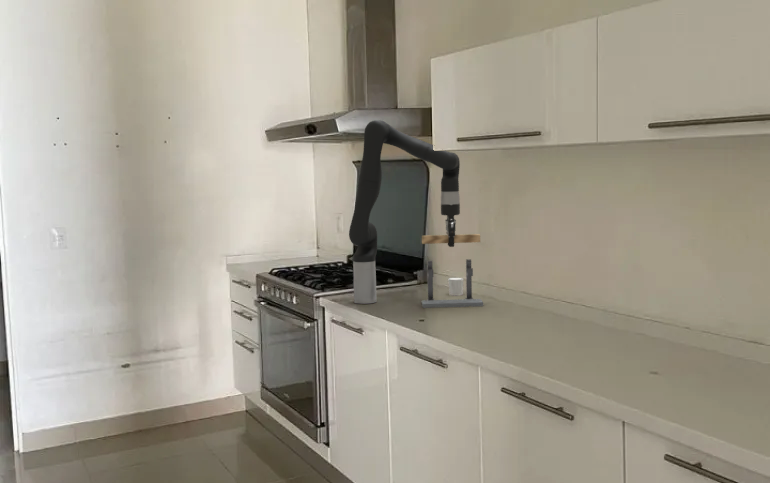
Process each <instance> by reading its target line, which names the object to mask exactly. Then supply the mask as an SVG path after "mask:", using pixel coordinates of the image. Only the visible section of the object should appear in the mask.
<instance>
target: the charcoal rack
mask: <svg viewBox="0 0 770 483" xmlns="http://www.w3.org/2000/svg"><path fill="white" fill-rule="evenodd" d="M426 263H427V267H426V268H427V269H426V270H427V298H426V300H435V298H434V285H433V284H434V283H433V282H434V280H433V278H434V269H433V260H426ZM473 271H474V269H473V268H472V258H471V259H469V258H468V259H465V273H466V274H465V279H466V280H465V282H466V283H465V284H466V286H465V288H466V292H465V293H466V297H464V299H474V298H473V295H472V294H473V292H472V291H473V287H472V286H473V284H472V280H473V279H472V277H473V276H474V272H473Z"/></svg>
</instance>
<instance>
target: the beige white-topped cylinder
mask: <svg viewBox="0 0 770 483" xmlns="http://www.w3.org/2000/svg"><path fill="white" fill-rule="evenodd" d="M464 280H465V279H464V278H463V277H449V278H448V279H447V282H448V294H449V296H455V297H458V296H463V292H464Z"/></svg>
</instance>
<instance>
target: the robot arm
mask: <svg viewBox="0 0 770 483" xmlns="http://www.w3.org/2000/svg"><path fill="white" fill-rule="evenodd" d="M384 144H385V145H388V146H394V147H396V148H399V149H401V150H402V151H404V152H406V153H407V154H409V155H411V156H413V157H415V158H418V159H420V160H422V161H425V162H428V163H430V164H432V165H434V166H436V167H438V168H441V169H442V178H441V179H440V180H441V181H440V214H441V216H446V219H445V220H444V223H445V231H446V232H445V233H446V235H448V237H449V238H448V242H449V243H447V246H448V247H449V248H453V247H455V243H454V237H455V235H456V227H457V226H456V224H457V220H456V219H455V216H460V214H461V205H460V203H461V202H460V200H461V198H460V184H459V178H460V169H461V168H460V167H461V166H460V165H461V164H460V157H459V155H458V154H456V153H455V152H452V151H451V152H450V151H447V150H445V151H434V150H433V145H434V144H432V143H430V142H428V141H424V140H421V139H419V138H416V137H414V136H411V135H409V134H406V133H404V132H402V131H400V130H398V129H397V128H395V127H393V126H392V125H390V124H388V123H387V122H385V121H383V120H381V119H380V120H379V119H378V120H372V121H369V122H368V123H367V124H366V125H365V128H364V132H363V153H362V159H361V164H360V168H359V169H360V171H359V176H358V182H357V183H358V184H357V188H356V189H357V191H356V197H355V204H354V210H353V214H352V218H351V222H350V226H349V231H348V236H349V240H350V242H351V244H352V245H354V246H356V247H357V249H356V250H355V252H354V253H353V256H352V266H353V270H352V271H353V303H354V304H362V305H364V304H365V305H366V304H373V303H377V275H376V274H377V273H376V271H377V268H376V257H377V256H376V255H377V254H378V253H377V252H378V231H377V228H376V226H375V225H374V224H373V223H372V222H370V216H371V212H372V210H373V207H374V206H375V204H376V202H377V200H378V198H379V195H380V192H381V185H382V179H383V177H382V175H383V172H382V163H381V159H382V158H381V156H382V150H383V146H384Z"/></svg>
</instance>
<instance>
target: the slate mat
mask: <svg viewBox="0 0 770 483" xmlns="http://www.w3.org/2000/svg"><path fill="white" fill-rule="evenodd" d="M469 306H471V307H484V302H483V300H482V299H481V298H473V299H465V298H464V299H463V298H461V299H459V298H458V299H434V300H427V299H426V300H425V299H423V300H421V307H422V308H423V309H424V308H425V309H427V308H428V309H429V308H430V309H431V308H432V309H433V308H461V307H462V308H463V307H464V308H466V307H467V308H470V307H469Z"/></svg>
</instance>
